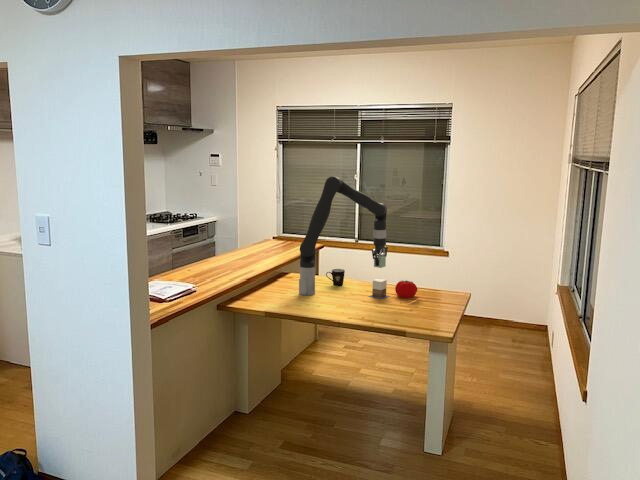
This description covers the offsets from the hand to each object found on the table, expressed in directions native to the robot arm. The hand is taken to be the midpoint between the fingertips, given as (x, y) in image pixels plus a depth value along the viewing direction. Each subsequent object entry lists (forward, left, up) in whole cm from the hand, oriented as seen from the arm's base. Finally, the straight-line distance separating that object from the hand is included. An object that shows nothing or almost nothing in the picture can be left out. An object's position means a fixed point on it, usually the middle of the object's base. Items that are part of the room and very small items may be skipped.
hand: (379, 265), depth 318 cm
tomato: (+11, -12, -20) cm, 26 cm away
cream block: (0, 0, -14) cm, 14 cm away
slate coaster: (0, 0, -20) cm, 20 cm away
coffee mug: (+8, +39, -20) cm, 45 cm away
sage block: (0, 0, -1) cm, 1 cm away
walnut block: (0, 0, -19) cm, 19 cm away
